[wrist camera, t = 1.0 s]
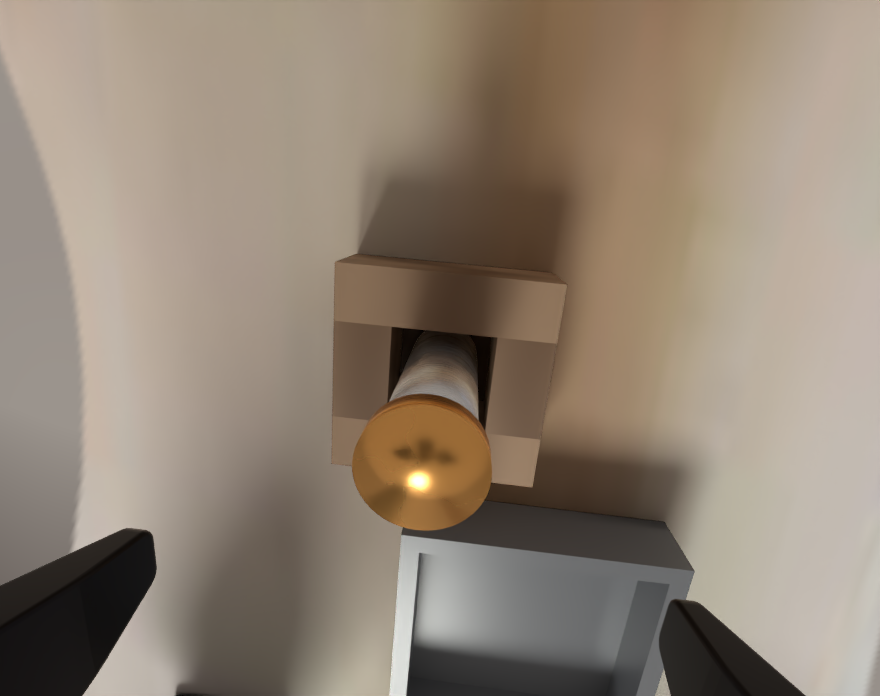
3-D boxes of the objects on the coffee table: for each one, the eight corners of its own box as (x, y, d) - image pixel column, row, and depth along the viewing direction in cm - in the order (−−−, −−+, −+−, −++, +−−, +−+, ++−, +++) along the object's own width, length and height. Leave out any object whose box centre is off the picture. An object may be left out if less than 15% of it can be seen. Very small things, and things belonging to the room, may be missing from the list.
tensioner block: (351, 428, 21) (331, 463, 18) (356, 253, 18) (334, 261, 16) (524, 448, 20) (532, 487, 18) (552, 272, 18) (567, 284, 15)
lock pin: (403, 388, 20) (350, 521, 11) (408, 313, 19) (354, 399, 10) (479, 396, 20) (483, 538, 11) (488, 322, 19) (500, 415, 10)
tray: (396, 674, 25) (386, 734, 22) (411, 491, 22) (401, 534, 19) (612, 704, 25) (631, 769, 22) (664, 522, 21) (694, 571, 18)
